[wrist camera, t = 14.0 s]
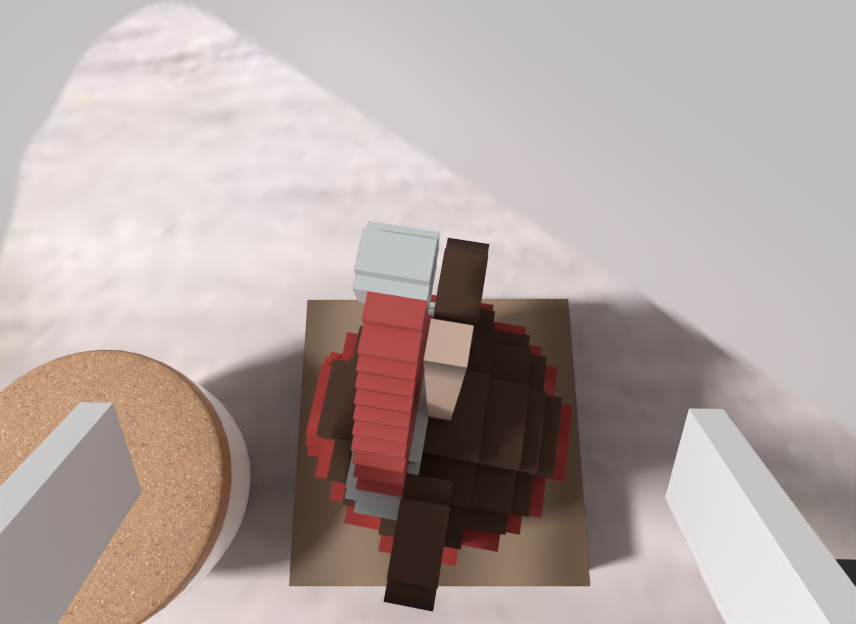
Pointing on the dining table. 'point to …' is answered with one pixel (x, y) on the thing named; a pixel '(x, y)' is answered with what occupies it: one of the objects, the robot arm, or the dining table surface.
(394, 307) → the cake
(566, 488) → the plinth
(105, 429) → the robot arm
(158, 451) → the lidded jar
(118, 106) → the dining table surface
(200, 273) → the dining table surface
